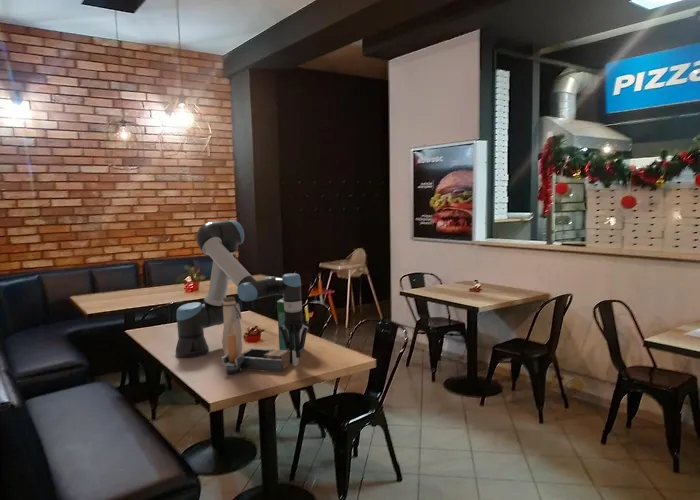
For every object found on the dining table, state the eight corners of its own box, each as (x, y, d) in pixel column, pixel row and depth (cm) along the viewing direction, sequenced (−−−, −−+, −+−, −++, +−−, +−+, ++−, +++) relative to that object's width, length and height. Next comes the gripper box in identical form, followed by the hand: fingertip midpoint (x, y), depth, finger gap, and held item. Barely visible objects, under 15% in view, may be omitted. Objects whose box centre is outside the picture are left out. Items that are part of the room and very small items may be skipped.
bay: (236, 368, 223) (236, 357, 223) (252, 358, 236) (251, 348, 235) (281, 372, 217) (280, 360, 216) (294, 362, 229) (294, 351, 228)
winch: (221, 374, 217) (220, 358, 216) (230, 368, 224) (229, 352, 223) (236, 375, 214) (235, 359, 213) (246, 369, 221) (245, 353, 220)
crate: (264, 368, 222) (264, 354, 221) (273, 362, 230) (272, 349, 229) (281, 370, 219) (281, 356, 219) (290, 363, 227) (289, 350, 226)
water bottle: (249, 355, 241) (245, 296, 237) (238, 361, 232) (235, 300, 229) (229, 354, 244) (226, 295, 241) (219, 360, 236) (215, 299, 232)
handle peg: (234, 364, 216) (232, 336, 215) (227, 363, 217) (225, 336, 216) (238, 361, 219) (237, 334, 218) (231, 361, 221) (229, 333, 219)
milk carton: (298, 354, 240) (295, 301, 237) (279, 353, 242) (276, 301, 239) (303, 348, 249) (301, 297, 246) (285, 347, 250) (283, 296, 248)
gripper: (275, 311, 217) (278, 366, 220) (303, 313, 213) (306, 368, 216) (283, 307, 224) (285, 360, 227) (310, 309, 220) (313, 362, 223)
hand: (295, 364), depth 222 cm, fingers closed
